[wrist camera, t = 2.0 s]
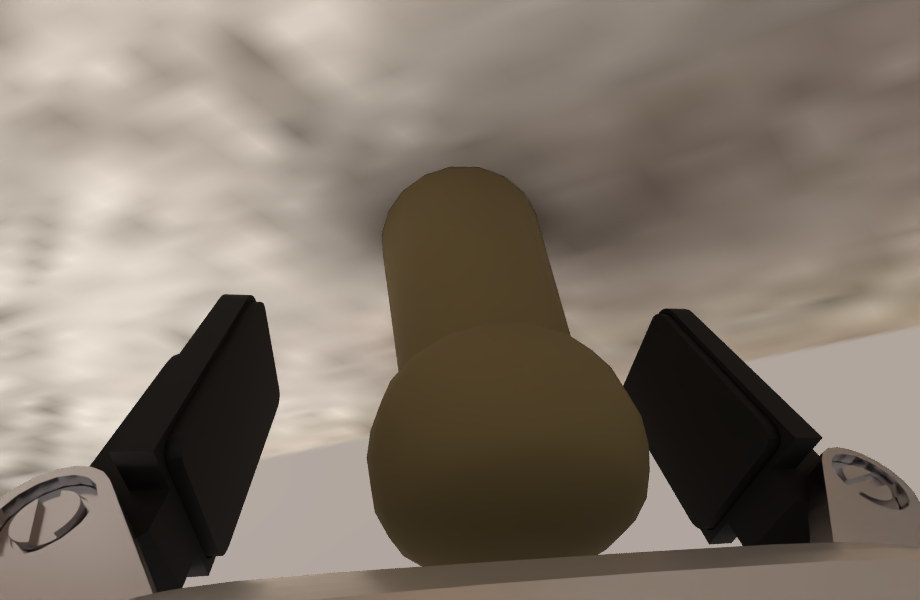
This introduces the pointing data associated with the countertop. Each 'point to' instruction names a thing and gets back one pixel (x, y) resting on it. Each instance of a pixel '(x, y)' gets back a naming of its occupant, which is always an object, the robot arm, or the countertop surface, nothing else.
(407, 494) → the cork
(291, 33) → the countertop surface
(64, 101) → the countertop surface
